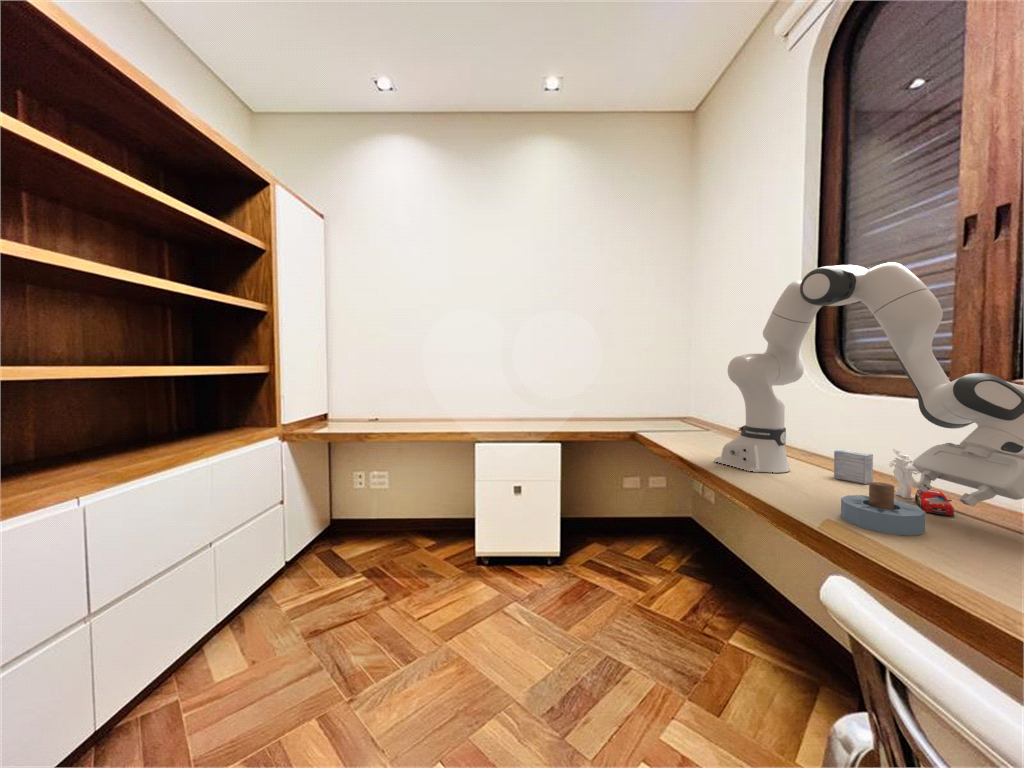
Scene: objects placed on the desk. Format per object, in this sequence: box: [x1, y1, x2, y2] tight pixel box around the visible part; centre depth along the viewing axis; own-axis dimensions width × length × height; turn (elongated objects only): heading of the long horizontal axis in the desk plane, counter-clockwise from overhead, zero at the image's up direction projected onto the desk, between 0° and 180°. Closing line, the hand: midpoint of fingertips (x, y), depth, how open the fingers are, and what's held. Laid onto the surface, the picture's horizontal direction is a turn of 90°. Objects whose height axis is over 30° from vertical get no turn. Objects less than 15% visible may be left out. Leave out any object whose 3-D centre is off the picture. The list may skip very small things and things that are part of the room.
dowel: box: [868, 481, 895, 510], centre depth 86 cm, size 4×4×8 cm
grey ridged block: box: [833, 448, 874, 485], centre depth 117 cm, size 8×4×9 cm, turn 25°
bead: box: [840, 494, 927, 536], centre depth 86 cm, size 13×13×4 cm
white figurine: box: [889, 448, 921, 500], centre depth 102 cm, size 9×4×12 cm, turn 162°
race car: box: [914, 489, 955, 517], centre depth 94 cm, size 13×5×4 cm, turn 140°
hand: (941, 495), depth 85 cm, fingers open, 8 cm apart
